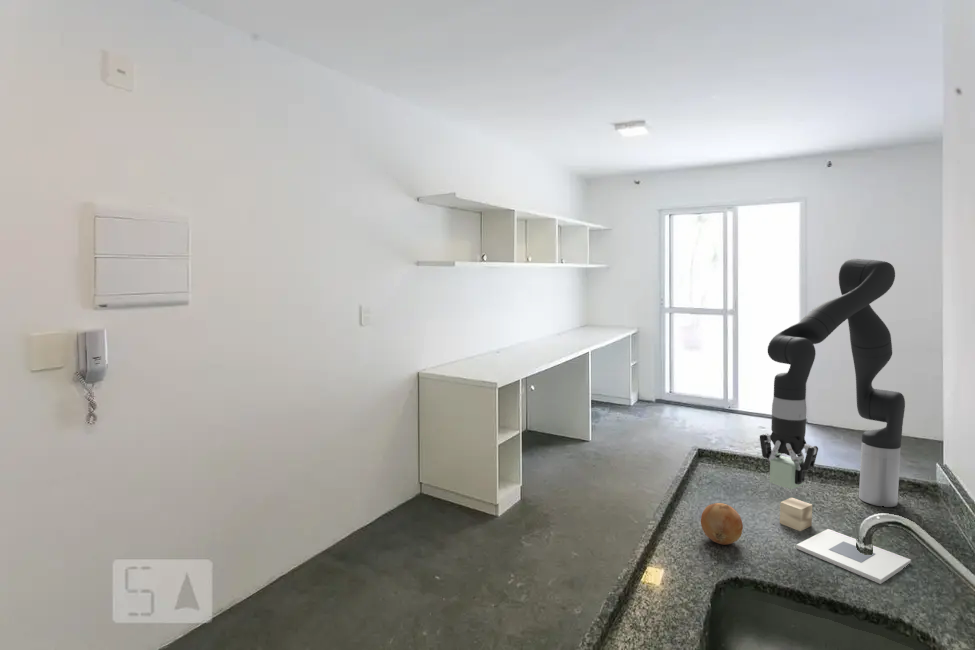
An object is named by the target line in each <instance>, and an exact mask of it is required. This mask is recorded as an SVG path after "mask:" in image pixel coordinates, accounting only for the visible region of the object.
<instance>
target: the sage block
mask: <svg viewBox="0 0 975 650" xmlns="http://www.w3.org/2000/svg"><path fill="white" fill-rule="evenodd" d="M795 470H796V467H795V464H794V462H793V461H792V459H791V457H790V456H785V455H781V456H780V457H777V458H775V459H771V460H770V461H769V483H770V484H773V485H776V486H779V487H781V488H784V489H787V490H794V489H796V488H799V487H801V486H803V485H804V482H802V483H801V484H799V485H798V484H795Z"/></svg>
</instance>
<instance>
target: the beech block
mask: <svg viewBox="0 0 975 650" xmlns="http://www.w3.org/2000/svg"><path fill="white" fill-rule="evenodd" d="M779 504H780V505H779V506H780V507H779V524H781V525H783V526H785V527H789V528H791V529H794V530H796V531H798V532H802V531H804V530H806V529H808V528H810V527H812V521H813V504H812V503H808V502H806V501H803V500H800V499H797V498H794V497H789V498H787V499H785V500H782V501H780V503H779Z"/></svg>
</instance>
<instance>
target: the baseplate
mask: <svg viewBox="0 0 975 650" xmlns="http://www.w3.org/2000/svg"><path fill="white" fill-rule="evenodd" d="M856 539H857V538H854V537H851V536H849V535H846V534H843V533H840V532H837V531H835V530H832V529H830V528H826V529H825V530H823V531H821V532H819V533H817V534H815V535H813V536H811V537H808V538H807V539H805V540H802V541H801V542H799V543H796V547H795V548H796V549H797V550H799V551H802V552H804V553H806V554H809V555H810V556H813V557H815V558H817V559H820V560H823V561H825V562H828V563H830V564H832V565H835V566H836V567H839V568H842V569H844V570H846V571H849V572H851V573H853V574H856V575H858V576H860V577H863V578H865V579H868V580H870V581H873V582H875V583H877V584H880V585H881V584H882V583H884V582H886V581H887V580H889V579H890V578H892V577H893V576H894V575H896V574H898V573H899V572H901V571H902V570H903V568H904V567H905V568H907V567H908V566H909V565H908V564H909V563H910V562H911V563H912V559H910V558H908V557H905V556H902V555H899V554H897V553H894V552H893V551H889V550H886V549H883V548H881V547H878V546H875V545H873V554H872V555H864V554H862V553H860V552H859V551H858V550H857V548H856ZM907 565H908V566H907ZM906 566H907V567H906ZM905 568H904V569H905Z"/></svg>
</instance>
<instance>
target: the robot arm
mask: <svg viewBox="0 0 975 650" xmlns="http://www.w3.org/2000/svg"><path fill="white" fill-rule="evenodd" d="M895 278H896V270H895V268H894V265H893V264H891V263H890V262H889V261H886V260H885V261H884V260H877V259H876V260H875V259H864V258H849V259H847V260H845V261H844V262H843V263H842V264H841V266H840V269H839V272H838V285H839V289H840V293H841V295H839V296H838V297H837V296H836V297H835V298H832V299H828V300H826V301H824V302H822V303H821V304H818V305H817V306H815V307H814V308H812V310H811V311H809V312H808V313H807V314H806V315H805V316H804V317H803V318H802V319H801V320H800V321H798V322H797V323H795V324H793V325H791V326H789V327H788V328H785V329H784V330H782V331H780V332H778V333H777V334H775V335H774V336H773V337H772V338H771V340H770V341H769V343H768V346H767V355H768V357H769V358H770V359H771V360H772V361H774V362H777V363H779V364H786V365H789V368H788V371H787V372H780V373H777V374H776V375H775V376H774V380H773V397H772V404H771V425H770V426H771V434H769V433H763V434H760V435H759V443H760V448H761V454H762V455H761V456H762V458H763V459H767V460H768V461H769V462H770V460H771V459H775V458H777V457H780V456H782V455H787V456H788V457H790V458H791V459H792V461H793V462H794V464H795V467H796V470H795V484H798V485H799V484H801V483H802V482H803V483H804V482H805V479H806V478H805V476H806V471H808V470H811V469H814V466H815V463H816V461H817V460H816V459H817V456H818V451H819V447H818V446H817V445H814V446H813V445H810V444H808V443H807V442H806V439H805V437H806V431H807V430H806V427H807V403H806V402H807V401H806V398H807V397H806V395H807V394H806V393H807V381H808V380H809V376H810V373H811V370H812V367H813V364H814V362H815V359H816V355H817V354H816V348H815V345H817V344H820V343H821V342H824V341H825V340H826V338H828V337H829V336H830V335H831V334H832V333H833V332H834V331H835V330H836V329H837V328H838V327H840V325H842V324H843V323H844V322H845V321H846V320H847V324H848V330H849V340H850V347H851V348H850V349H851V355H852V360H853V365H854V372H855V373H854V374H855V387H856V388H855V390H856V392H855V393H856V408H857V412H858V414H859V416H860V418H862V419H865V420H870V421H876V422H882V423H886V426H885V427H883V428H879V429H871V430H870V429H868V430H865V431H864V432H863V433H862V434H861V445H860V446H861V448H860V466H859V467H860V469H859V470H860V471H859V489H858V498H859V500H861V501H863V502H864V503H867V504H870V505H873V506H877V507H882V506H884V507H885V508H893V507H896V506H898V503H899V502H898V500H899V497H898V496H899V487H900V486H899V483H900V466H901V450H902V449H901V448H902V447H901V445H902V436H903V435H902V434H903V425H904V417H905V410H906V409H905V408H906V401H905V396H904V395H903V394H902V392H899V391H892V390H885V389H878V388H874V387H873V384H872V383H873V381H874V379H875V378H876V377H877V375H878V374H879V373H880V372H881V370H883V369H884V367H885V366H886V365H887V364H888V363H889V361H890V360H891V358H892V355H893V345H892V344H893V343H892V335H891V332H890V330H889V328H888V326H887V325H886V324H885V322H884V321H883V320H882V319H881V317H880V316H879V315H878V314H877V313H876V311H875V310H874V309H873V307H872V306H871V304H872V303H874V302H875V301H876V300H878V299H879V298H881V297H883V296H884V295H886V293H888V291H889V290H891V288H892V287H893V285H894V281H895ZM771 442H772V444H773V445H774V446H773V448H772V444H771ZM803 450H804V453H803ZM804 454H805V456H804Z"/></svg>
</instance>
